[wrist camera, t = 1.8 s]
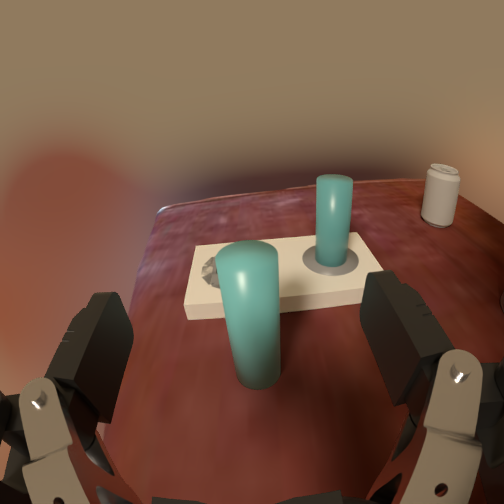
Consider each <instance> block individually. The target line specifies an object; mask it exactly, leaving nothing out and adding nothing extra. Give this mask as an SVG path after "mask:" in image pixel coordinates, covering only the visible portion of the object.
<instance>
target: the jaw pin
mask: <svg viewBox="0 0 504 504" xmlns="http://www.w3.org/2000/svg"><path fill="white" fill-rule="evenodd" d="M215 262H216V268H217V274H218V279H219V285H220V291H221V296H222V302H223V307H224V313H225V318H226V324H227V329H228V334H229V339H230V345H231V350H232V355H233V360H234V365H235V370H236V374H237V378H238V380H239V382H240V383H241V384H242V385H244V386H245V387H247V388H250V389H255V390H261V389H265V388H268V387H270V386H272V385H274V384H275V383H276V382H277V380H278V379H279V377H280V373H281V356H280V300H279V264H278V252H277V250H276V248H275V247H274V246H272V245H271V244H269V243H266V242H263V241H258V240H244V241H238V242H234V243H231V244H229V245H227V246H225V247H223V248H222V249H221V250H220V251H219V252H218V253H217V255H216V257H215Z"/></svg>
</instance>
